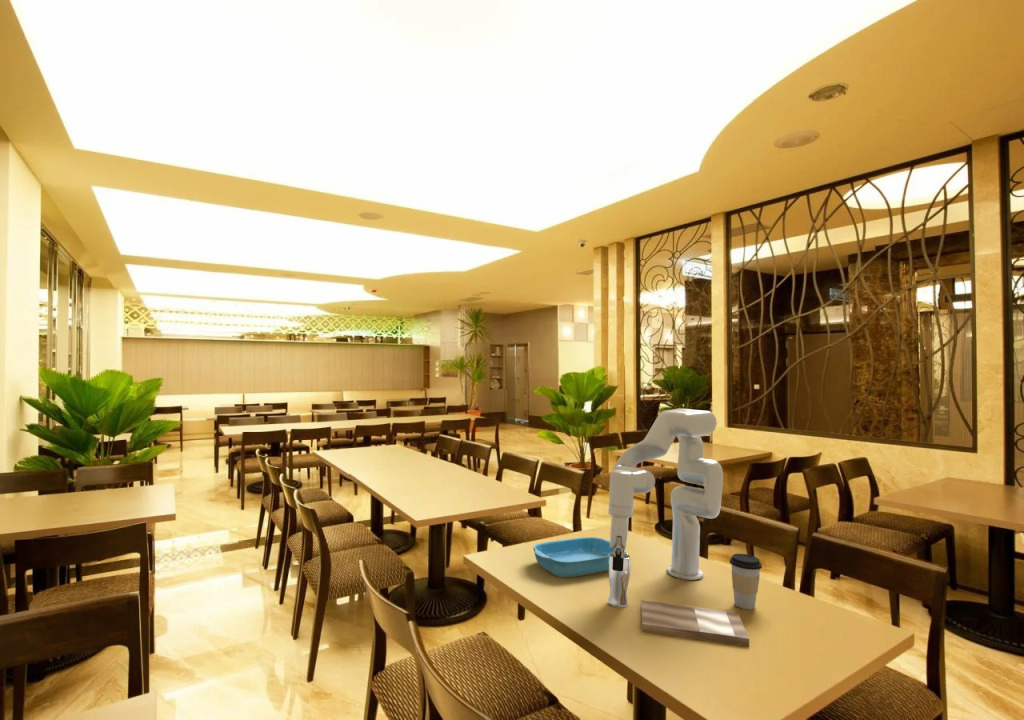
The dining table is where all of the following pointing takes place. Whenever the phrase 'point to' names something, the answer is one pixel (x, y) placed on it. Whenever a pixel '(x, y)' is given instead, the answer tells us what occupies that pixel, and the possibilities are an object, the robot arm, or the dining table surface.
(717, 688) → the dining table surface
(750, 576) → the coffee cup
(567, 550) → the casserole dish
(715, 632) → the cutting board
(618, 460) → the robot arm
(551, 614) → the dining table surface
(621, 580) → the beer glass
